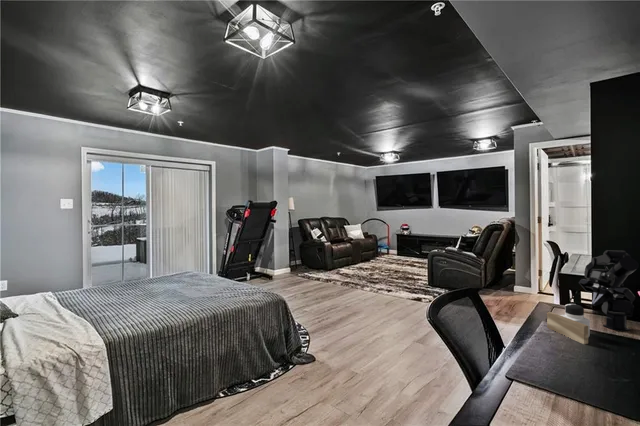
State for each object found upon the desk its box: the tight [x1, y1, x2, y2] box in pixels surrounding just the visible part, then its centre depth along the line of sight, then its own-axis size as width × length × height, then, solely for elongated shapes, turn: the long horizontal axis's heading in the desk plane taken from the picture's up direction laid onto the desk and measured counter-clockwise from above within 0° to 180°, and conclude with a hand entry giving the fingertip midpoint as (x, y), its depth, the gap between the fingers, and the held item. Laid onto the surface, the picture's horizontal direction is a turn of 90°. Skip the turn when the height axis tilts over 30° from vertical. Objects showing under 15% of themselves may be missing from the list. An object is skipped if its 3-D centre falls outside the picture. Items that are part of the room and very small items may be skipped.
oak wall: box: [546, 311, 589, 345], centre depth 129 cm, size 2×16×7 cm, turn 10°
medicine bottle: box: [559, 303, 591, 338], centre depth 131 cm, size 7×7×12 cm
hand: (593, 304), depth 131 cm, fingers closed
